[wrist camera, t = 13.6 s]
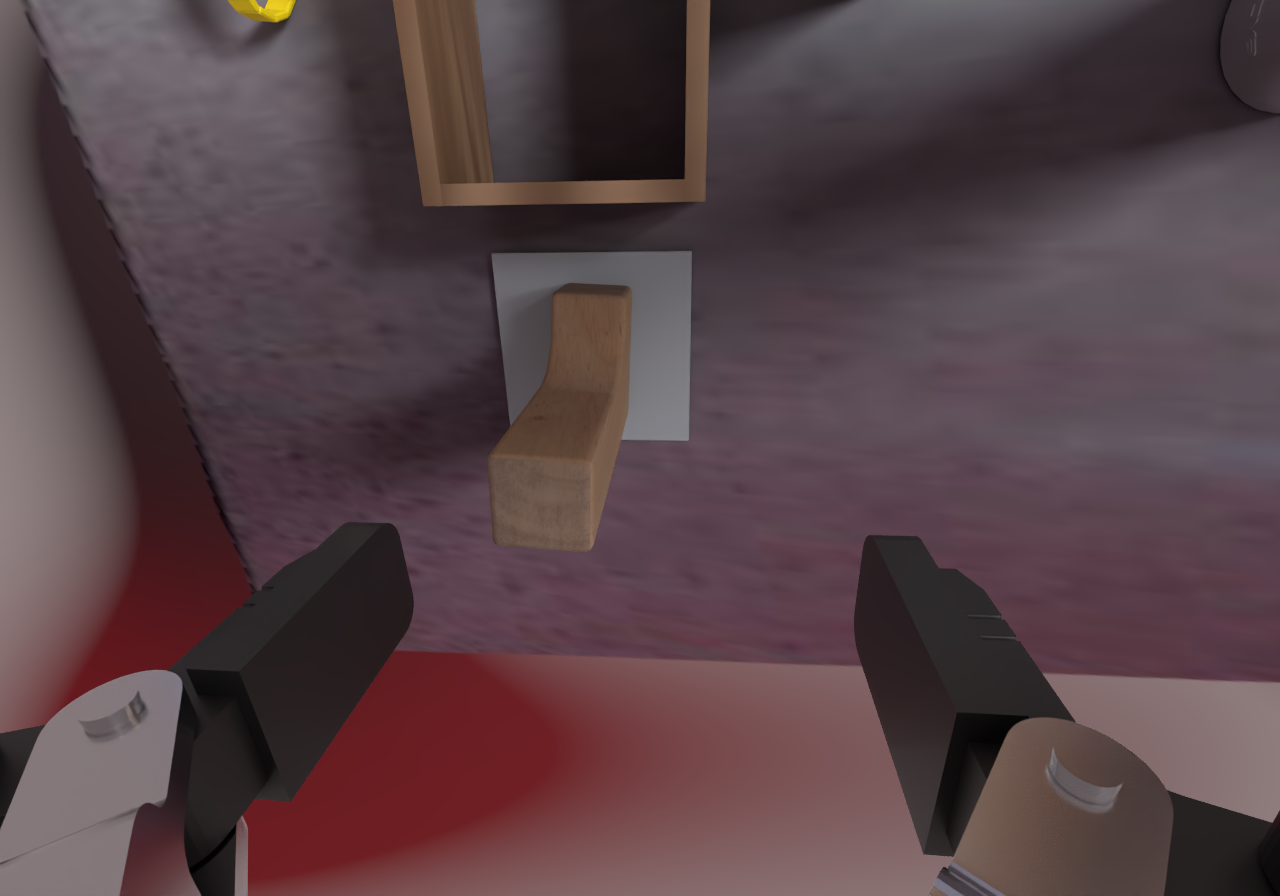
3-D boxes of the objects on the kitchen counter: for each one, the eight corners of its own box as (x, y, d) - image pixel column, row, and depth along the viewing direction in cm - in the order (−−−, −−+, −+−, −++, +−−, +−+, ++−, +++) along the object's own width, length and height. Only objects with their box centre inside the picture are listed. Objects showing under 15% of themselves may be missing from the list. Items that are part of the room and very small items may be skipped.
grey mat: (692, 250, 38) (691, 251, 38) (688, 438, 43) (688, 440, 43) (493, 252, 39) (491, 253, 38) (513, 436, 44) (511, 438, 44)
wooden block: (564, 281, 39) (475, 346, 22) (632, 285, 39) (593, 353, 22) (566, 410, 42) (490, 548, 26) (628, 414, 42) (592, 556, 26)
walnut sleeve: (708, -163, 30) (717, -298, 22) (700, 199, 37) (705, 201, 29) (440, -147, 31) (352, -270, 23) (480, 203, 38) (423, 206, 30)
